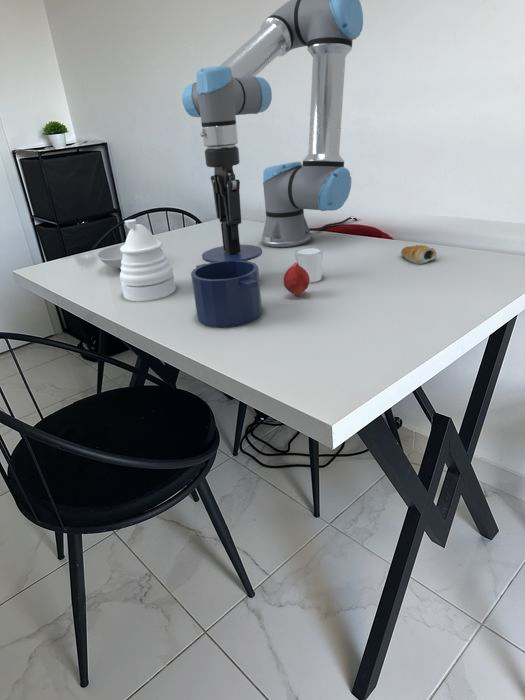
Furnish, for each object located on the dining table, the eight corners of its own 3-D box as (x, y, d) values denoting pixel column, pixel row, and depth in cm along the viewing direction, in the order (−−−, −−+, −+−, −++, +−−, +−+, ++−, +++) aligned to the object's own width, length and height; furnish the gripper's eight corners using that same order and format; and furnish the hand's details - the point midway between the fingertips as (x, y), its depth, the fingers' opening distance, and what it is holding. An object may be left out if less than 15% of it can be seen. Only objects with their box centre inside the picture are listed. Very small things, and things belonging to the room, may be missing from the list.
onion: (280, 299, 115) (277, 264, 112) (291, 290, 120) (289, 257, 116) (303, 301, 112) (302, 266, 109) (314, 292, 117) (312, 258, 113)
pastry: (394, 257, 136) (395, 243, 134) (413, 252, 139) (414, 238, 137) (419, 265, 129) (420, 250, 127) (439, 260, 131) (440, 245, 130)
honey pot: (150, 304, 119) (136, 226, 111) (112, 297, 125) (96, 223, 118) (186, 286, 128) (175, 214, 121) (148, 280, 135) (136, 212, 127)
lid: (239, 246, 133) (236, 212, 129) (274, 255, 122) (272, 218, 118) (191, 258, 125) (186, 223, 121) (224, 270, 114) (220, 231, 110)
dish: (149, 273, 141) (145, 255, 139) (95, 280, 140) (91, 262, 137) (150, 256, 157) (148, 240, 155) (103, 262, 155) (99, 246, 153)
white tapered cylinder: (305, 285, 122) (304, 256, 119) (291, 278, 128) (289, 250, 124) (329, 279, 125) (328, 251, 121) (314, 272, 130) (313, 245, 127)
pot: (230, 296, 119) (226, 254, 115) (282, 317, 106) (279, 270, 101) (180, 312, 112) (173, 269, 108) (228, 337, 98) (222, 288, 94)
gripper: (194, 147, 118) (207, 247, 128) (216, 150, 105) (228, 261, 115) (225, 143, 120) (235, 242, 131) (250, 146, 107) (259, 255, 117)
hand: (232, 251), depth 123 cm, fingers closed on lid, 3 cm apart
